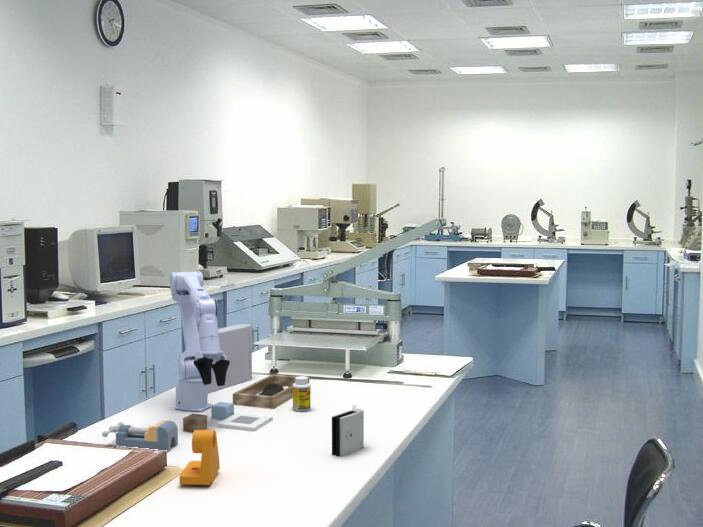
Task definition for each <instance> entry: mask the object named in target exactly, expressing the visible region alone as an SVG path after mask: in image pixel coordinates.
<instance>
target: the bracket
mask: <svg viewBox="0 0 703 527" xmlns="http://www.w3.org/2000/svg"><path fill="white" fill-rule="evenodd" d="M217 436H218V435H217V431H216V430H215V429H205V430H194V432H192V438H191V450H192V453H193V454H201V457H200V460H191V461H189V462H188V463H187V464H186V465H185V467H184V469H183V470H182V471H181V472H180V474H179V484H180V485H194V486H195V485H199V486H200V485H201V486H209V485H213V484H214V481H215V480H216V479H217V476H218V472H219V470H220V469H221V468H220V455H219V454H220V453H219V446H218V438H217Z"/></svg>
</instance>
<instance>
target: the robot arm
mask: <svg viewBox="0 0 703 527" xmlns="http://www.w3.org/2000/svg"><path fill="white" fill-rule="evenodd" d="M169 288H170V295H171V297H172V299H171V300H173V301H175V302H177V305H178V308H179V314H180V315H179V316H180V321H181V329H182V334H183V340H184V348H185V349H184V351H183V352H182V353H180V354H179V356H178V360H177V364H178V365H177V367H178V369H177V370H178V376H179V378H180V379H179V380H178V381H177V383H176V387H175V407H174V409H175V410H182V411H188V412H189V411H190V412H201V413H202V412H203V411H204V410H207V409H209V408H211V406H212V405H214V404H213V403H209V402H208V401H209V399H208V393H207V385H208V384H211V382H212V372H213V371H214V374H215V378H216V383H217V386H223V385H225V380H226V373H227V369H228V366H229V364H230V361H229V360H227V356H226V355H224V351H221V350H220V342H219V333H218V329H219V325H218V316H219V303H218V301H217V298H216V297H212V298H211V296H210V294H209V292H208V291H207V290H206V288H204V276H203V273H202V272H201V271H200V270H198V271H178V272H175V271H172V272H171V273H170V275H169ZM198 333H199V336H198ZM199 341H200V342H199ZM213 361H216V362H215V364H212V363H213Z"/></svg>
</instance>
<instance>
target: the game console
mask: <svg viewBox="0 0 703 527" xmlns="http://www.w3.org/2000/svg"><path fill="white" fill-rule="evenodd" d="M218 333H219V342H220V350H221V351H224V355H226V356H227V360H229V361H230V364H229V366H228V369H227V373H226V380H225V385H223V386H217V383H216V378H215V374H214V371H213V372H212V382H211V384H208V385H207V394H209V393H212V392H216V391H218V390H222V389H224V388H228V387H232V386H234V385H239V384H241V383H244V382H245V383H246V382H247V381H251V380H253V357H252V356H253V353H252V351H253V350H252V348H253V344H252V341H253V339H252V338H253V337H252V324H248V323H239V324H235V325H230V326H226V327H220V328H218ZM198 336H199V332H198ZM199 342H200V341H199ZM215 362H216V361H213V363H212V364H215Z"/></svg>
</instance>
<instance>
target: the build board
mask: <svg viewBox="0 0 703 527" xmlns="http://www.w3.org/2000/svg"><path fill="white" fill-rule="evenodd" d="M272 421H274V420H273V416H272V415H271V416H268V415H260V414H252V413H243V412H241V413H240V412H236V413H234V415H232V416H230V417H228V418H226V419H225V420H220V421H218V422H217V423H216V427H217V428H223V429H224V428H225V429H232V430H239V431H241V430H242V431H249V432H255V431H257V430H259V429H260V428H262V427H264V426H266V425H267V424H268V423H270V422H272Z"/></svg>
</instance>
